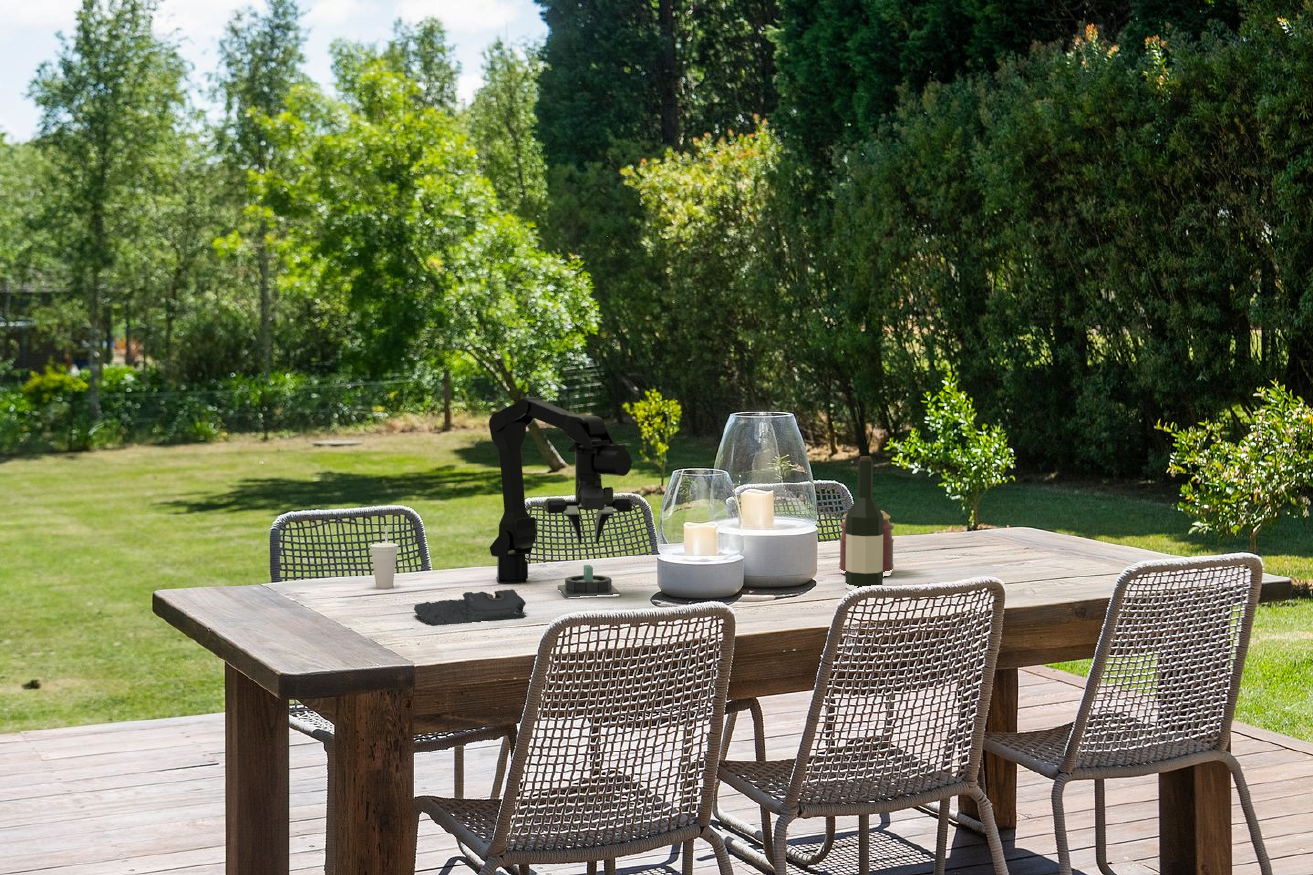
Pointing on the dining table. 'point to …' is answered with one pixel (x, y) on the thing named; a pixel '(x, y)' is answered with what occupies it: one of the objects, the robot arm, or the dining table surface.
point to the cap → (588, 574)
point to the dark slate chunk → (473, 608)
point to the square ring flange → (587, 586)
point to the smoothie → (384, 562)
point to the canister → (886, 544)
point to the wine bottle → (864, 532)
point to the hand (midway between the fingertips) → (588, 543)
